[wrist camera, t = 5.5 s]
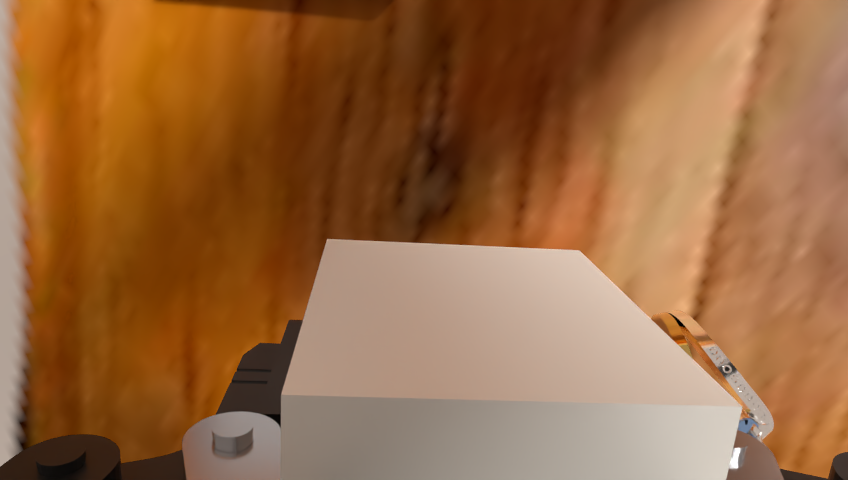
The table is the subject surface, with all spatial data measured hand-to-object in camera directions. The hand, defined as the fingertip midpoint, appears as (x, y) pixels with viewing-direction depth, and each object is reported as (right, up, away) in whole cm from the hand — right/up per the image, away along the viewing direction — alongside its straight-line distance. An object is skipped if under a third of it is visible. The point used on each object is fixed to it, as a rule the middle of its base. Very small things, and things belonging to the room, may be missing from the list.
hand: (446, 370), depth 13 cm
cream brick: (0, 0, 0) cm, 0 cm away
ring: (+11, -3, +20) cm, 23 cm away
